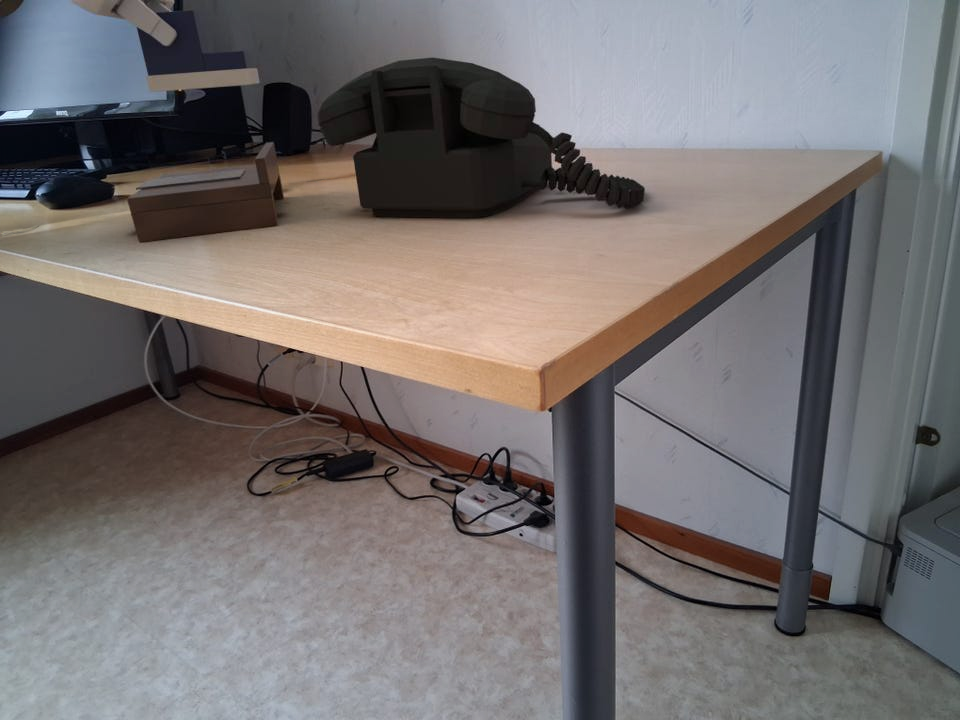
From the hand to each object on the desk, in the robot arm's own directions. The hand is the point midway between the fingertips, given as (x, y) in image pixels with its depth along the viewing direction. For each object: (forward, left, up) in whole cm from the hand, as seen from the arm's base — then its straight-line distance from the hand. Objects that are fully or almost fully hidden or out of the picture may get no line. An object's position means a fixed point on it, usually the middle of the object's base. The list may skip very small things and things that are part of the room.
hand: (182, 41), depth 70 cm
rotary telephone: (+25, -18, -19) cm, 36 cm away
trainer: (+1, -1, -4) cm, 5 cm away
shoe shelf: (+1, +5, -19) cm, 19 cm away
